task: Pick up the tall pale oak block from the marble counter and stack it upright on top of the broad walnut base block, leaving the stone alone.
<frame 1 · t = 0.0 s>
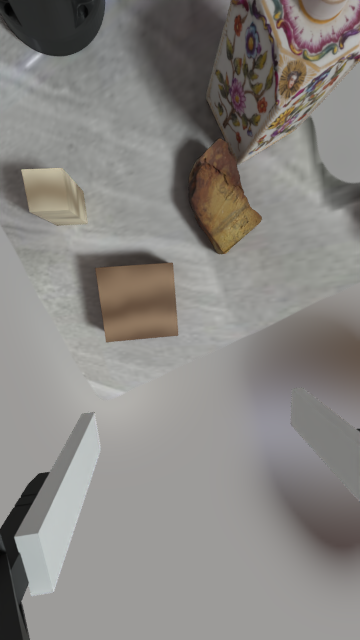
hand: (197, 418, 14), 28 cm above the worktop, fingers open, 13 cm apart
stone: (218, 208, 39), on the worktop
decorative jar: (250, 115, 36), on the worktop
plinth: (141, 299, 40), on the worktop
oak block: (70, 208, 36), on the worktop
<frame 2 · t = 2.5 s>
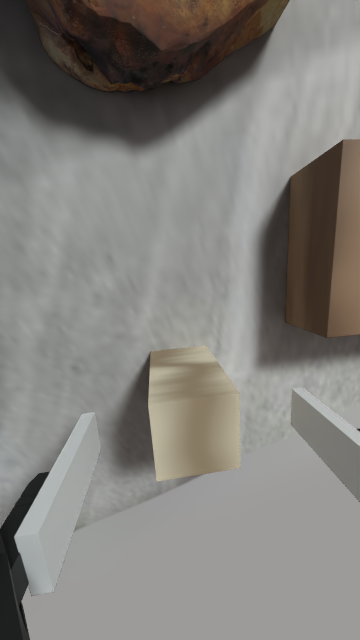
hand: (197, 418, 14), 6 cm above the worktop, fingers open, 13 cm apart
stone: (164, 13, 15), on the worktop, touching decorative jar
plinth: (351, 250, 19), on the worktop
oak block: (180, 374, 20), on the worktop
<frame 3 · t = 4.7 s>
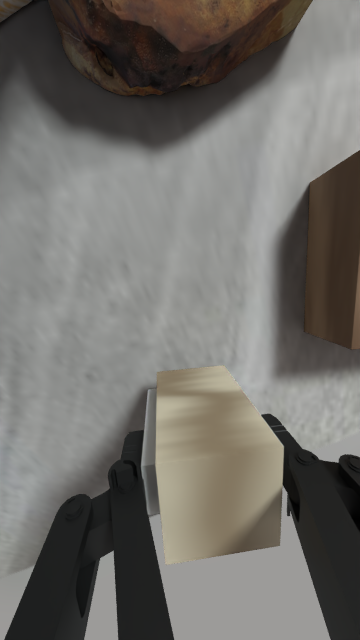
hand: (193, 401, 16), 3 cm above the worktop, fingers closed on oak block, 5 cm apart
stone: (184, 19, 15), on the worktop
oak block: (192, 399, 17), point 3 cm above the worktop, touching gripper
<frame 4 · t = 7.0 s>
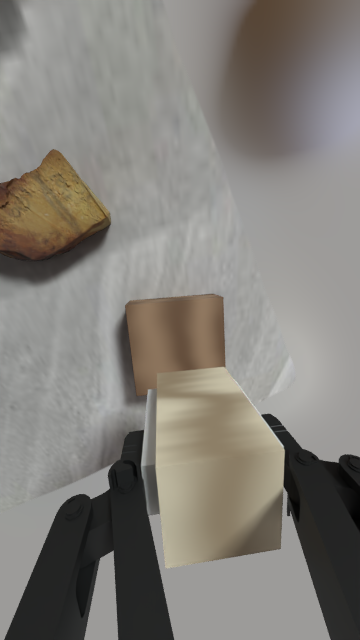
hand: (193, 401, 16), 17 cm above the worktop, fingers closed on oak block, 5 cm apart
stone: (49, 219, 28), on the worktop
plinth: (175, 337, 33), on the worktop
oak block: (192, 400, 17), point 17 cm above the worktop, touching gripper
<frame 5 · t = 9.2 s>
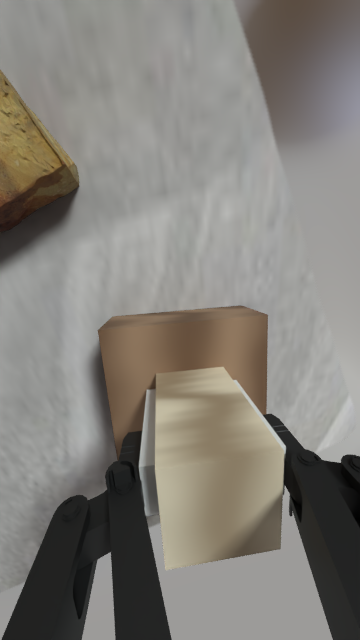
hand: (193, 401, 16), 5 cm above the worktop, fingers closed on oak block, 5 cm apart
plinth: (183, 371, 21), on the worktop
oak block: (191, 400, 17), point 5 cm above the worktop, touching gripper, plinth
when the fingers open (5 cm above the worktop, at t = 9.5 s): oak block stays where it is, resting on plinth.
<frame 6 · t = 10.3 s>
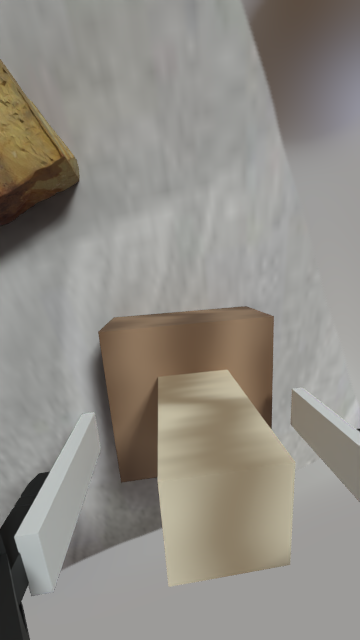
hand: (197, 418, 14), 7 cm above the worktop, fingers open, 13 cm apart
plinth: (185, 373, 21), on the worktop
oak block: (195, 404, 16), point 5 cm above the worktop, touching plinth
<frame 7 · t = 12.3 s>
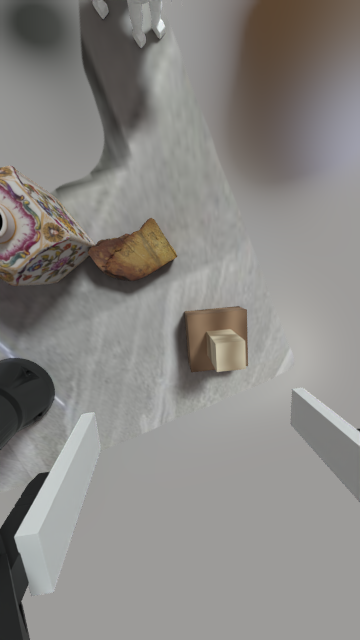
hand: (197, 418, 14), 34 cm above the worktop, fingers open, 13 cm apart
stone: (137, 253, 45), on the worktop, touching decorative jar
decorative jar: (57, 242, 43), on the worktop, touching stone
plinth: (213, 335, 49), on the worktop
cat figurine: (130, 11, 37), on the worktop
oak block: (218, 342, 44), point 5 cm above the worktop, touching plinth
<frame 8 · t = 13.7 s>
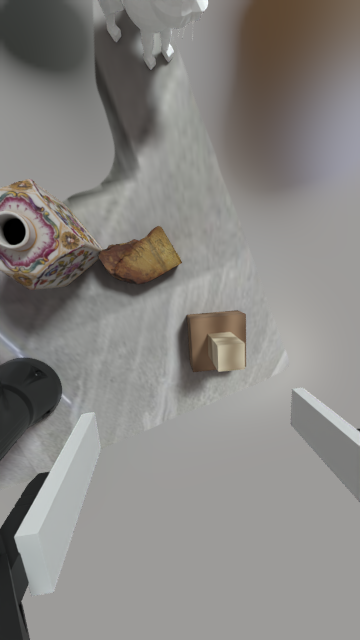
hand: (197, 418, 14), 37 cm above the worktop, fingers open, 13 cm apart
stone: (143, 258, 48), on the worktop
decorative jar: (66, 248, 45), on the worktop
plinth: (213, 337, 52), on the worktop
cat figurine: (141, 36, 40), on the worktop
oak block: (219, 344, 47), point 5 cm above the worktop, touching plinth
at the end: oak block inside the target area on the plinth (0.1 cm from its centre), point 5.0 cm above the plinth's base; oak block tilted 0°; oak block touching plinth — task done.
